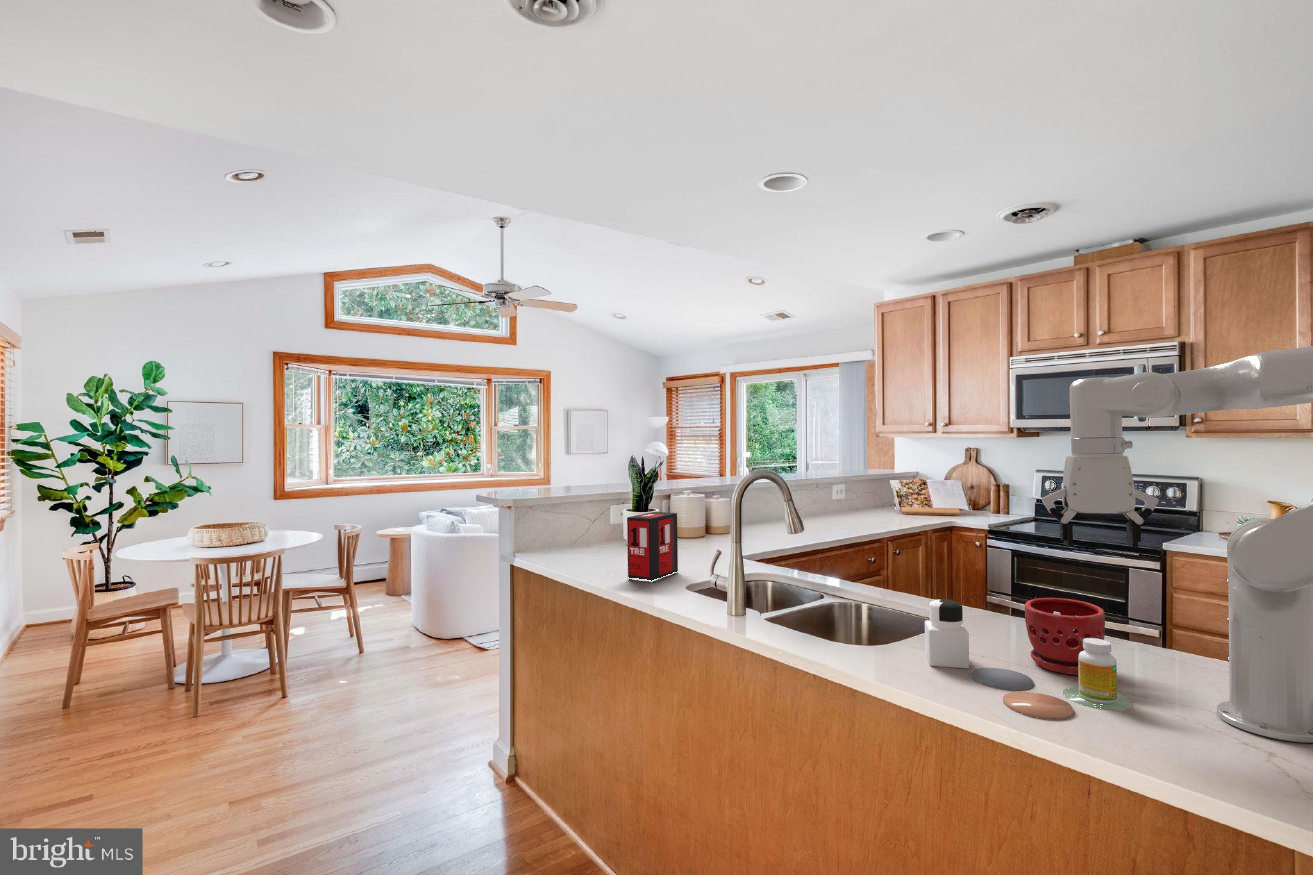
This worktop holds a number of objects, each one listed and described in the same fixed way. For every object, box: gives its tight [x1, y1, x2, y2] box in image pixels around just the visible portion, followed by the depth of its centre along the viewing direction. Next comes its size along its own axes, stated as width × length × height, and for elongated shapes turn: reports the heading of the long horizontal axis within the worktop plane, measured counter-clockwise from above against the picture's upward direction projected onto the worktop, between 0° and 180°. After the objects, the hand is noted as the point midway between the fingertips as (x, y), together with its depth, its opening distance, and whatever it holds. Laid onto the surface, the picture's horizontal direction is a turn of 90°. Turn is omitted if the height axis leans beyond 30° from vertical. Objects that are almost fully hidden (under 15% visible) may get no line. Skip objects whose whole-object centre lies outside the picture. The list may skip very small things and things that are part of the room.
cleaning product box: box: [626, 511, 679, 581], centre depth 212 cm, size 16×9×20 cm, turn 148°
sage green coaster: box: [1061, 686, 1134, 712], centre depth 111 cm, size 10×10×1 cm
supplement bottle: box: [1078, 638, 1118, 704], centre depth 111 cm, size 5×5×10 cm
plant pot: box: [1024, 597, 1106, 676], centre depth 126 cm, size 13×13×12 cm
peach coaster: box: [1002, 691, 1074, 720], centre depth 108 cm, size 10×10×1 cm
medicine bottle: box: [924, 598, 970, 670], centre depth 130 cm, size 7×7×12 cm
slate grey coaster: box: [971, 667, 1034, 692], centre depth 120 cm, size 10×10×1 cm
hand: (1100, 545), depth 114 cm, fingers open, 9 cm apart
